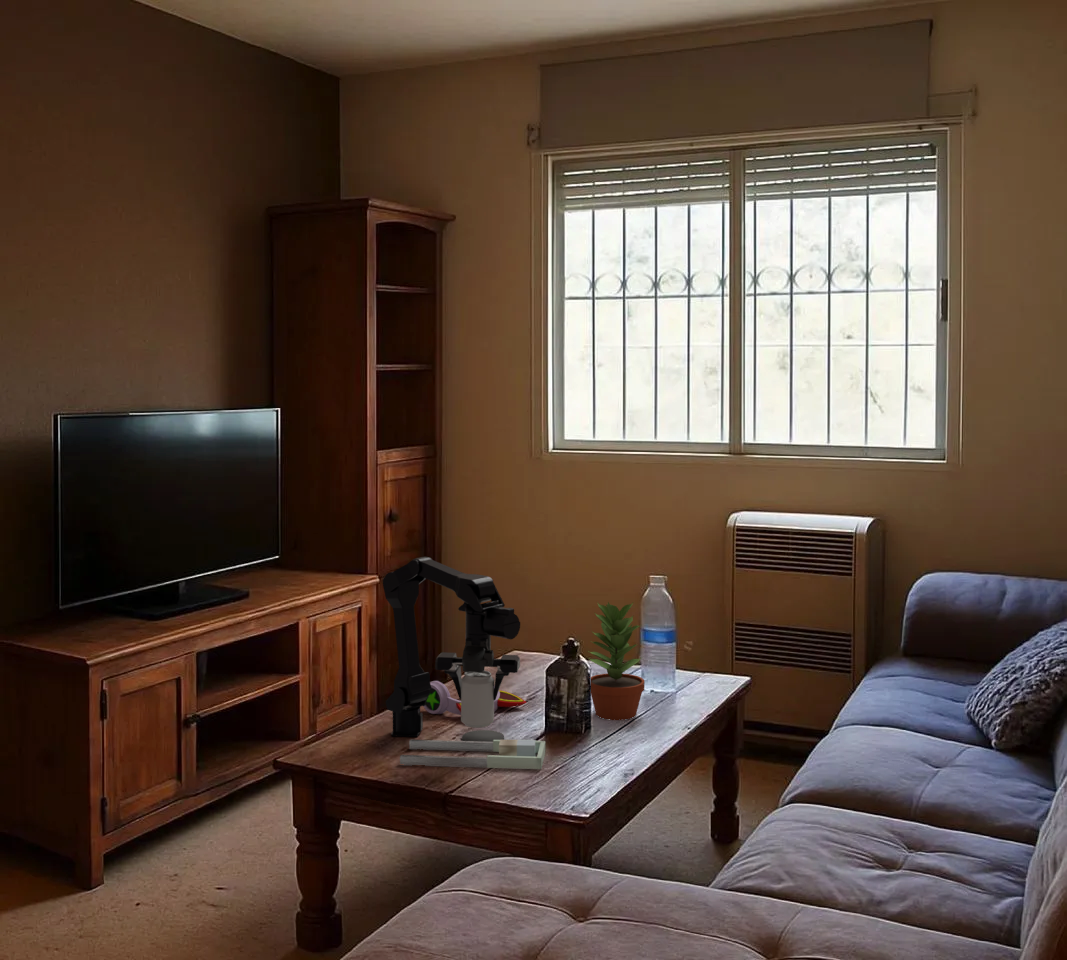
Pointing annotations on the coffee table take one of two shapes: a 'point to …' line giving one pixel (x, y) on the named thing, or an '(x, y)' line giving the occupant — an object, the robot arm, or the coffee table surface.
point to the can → (477, 699)
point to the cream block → (508, 748)
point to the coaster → (482, 736)
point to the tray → (517, 758)
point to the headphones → (443, 702)
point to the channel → (447, 760)
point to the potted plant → (615, 668)
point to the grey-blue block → (526, 748)
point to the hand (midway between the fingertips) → (477, 699)
